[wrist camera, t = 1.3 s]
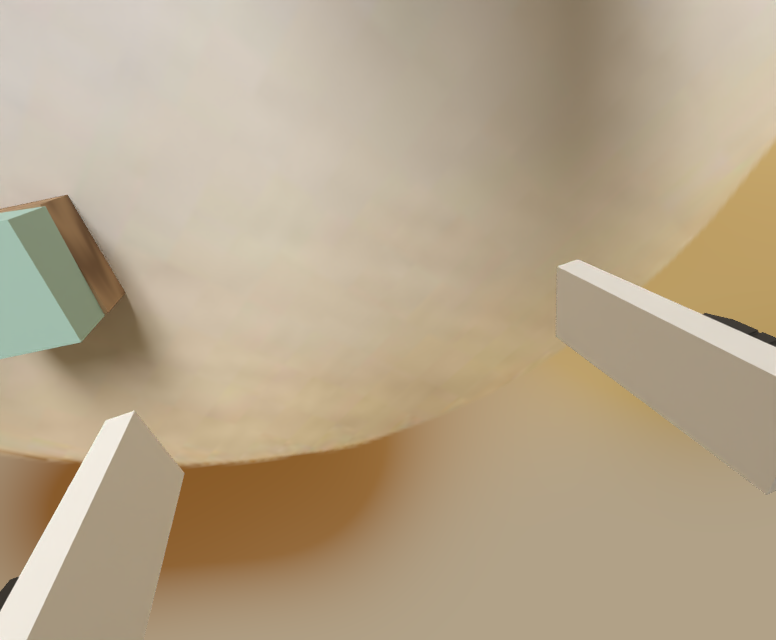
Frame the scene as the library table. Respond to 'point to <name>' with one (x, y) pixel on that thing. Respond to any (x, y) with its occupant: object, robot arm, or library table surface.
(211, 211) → the library table surface
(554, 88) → the library table surface
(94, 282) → the tower base block
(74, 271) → the tower top block
